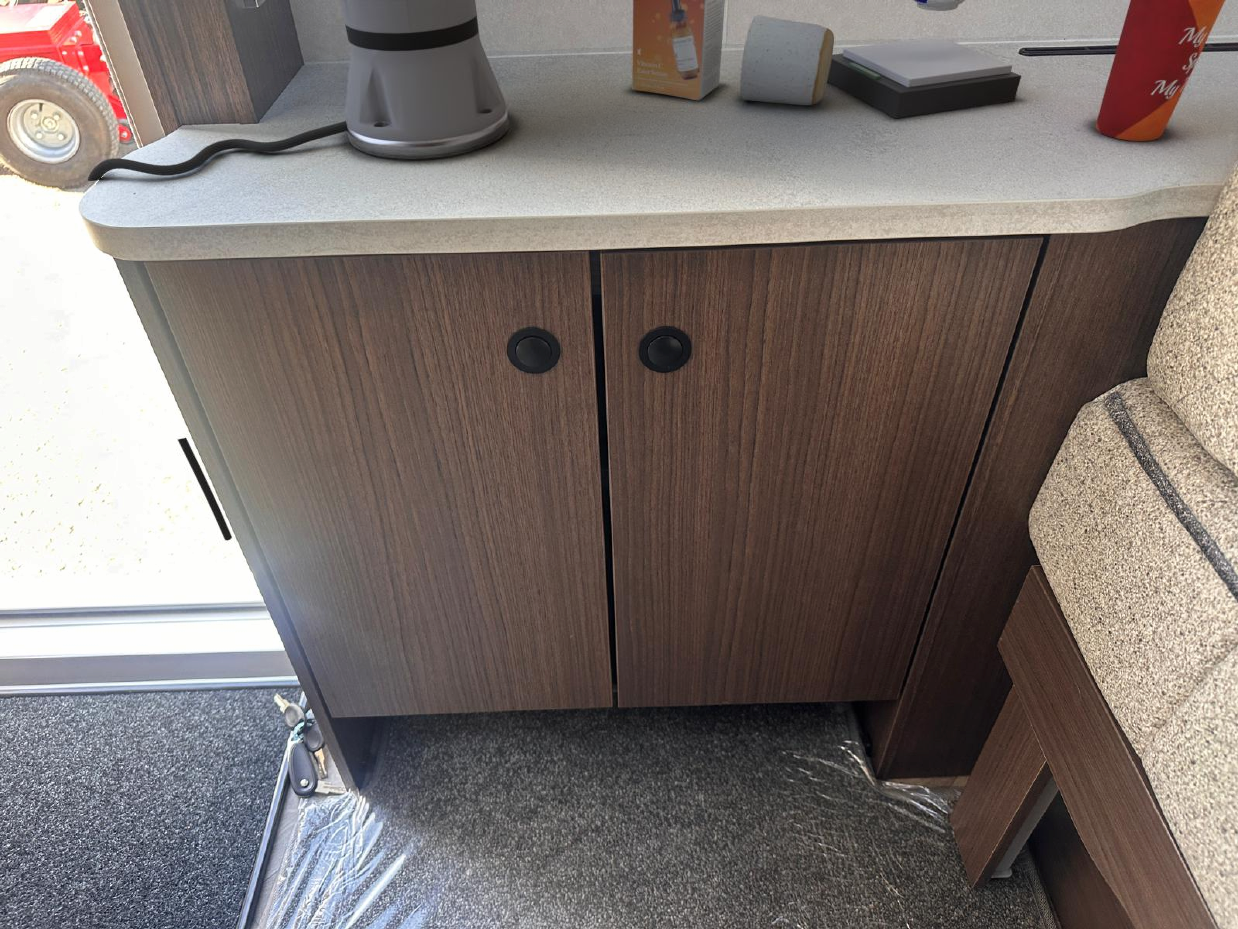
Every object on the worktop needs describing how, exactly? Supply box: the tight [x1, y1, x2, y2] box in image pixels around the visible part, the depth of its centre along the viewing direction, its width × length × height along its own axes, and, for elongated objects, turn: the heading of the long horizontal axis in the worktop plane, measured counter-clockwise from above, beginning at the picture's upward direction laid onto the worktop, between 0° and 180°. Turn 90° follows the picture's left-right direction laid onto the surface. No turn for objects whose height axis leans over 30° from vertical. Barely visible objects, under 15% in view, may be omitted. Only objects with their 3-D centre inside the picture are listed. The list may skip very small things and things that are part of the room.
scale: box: [827, 36, 1022, 119], centre depth 87 cm, size 14×14×3 cm
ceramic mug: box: [739, 15, 835, 106], centre depth 84 cm, size 11×8×8 cm
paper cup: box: [1095, 0, 1226, 142], centre depth 73 cm, size 8×8×14 cm
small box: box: [631, 0, 726, 101], centre depth 86 cm, size 8×6×10 cm
